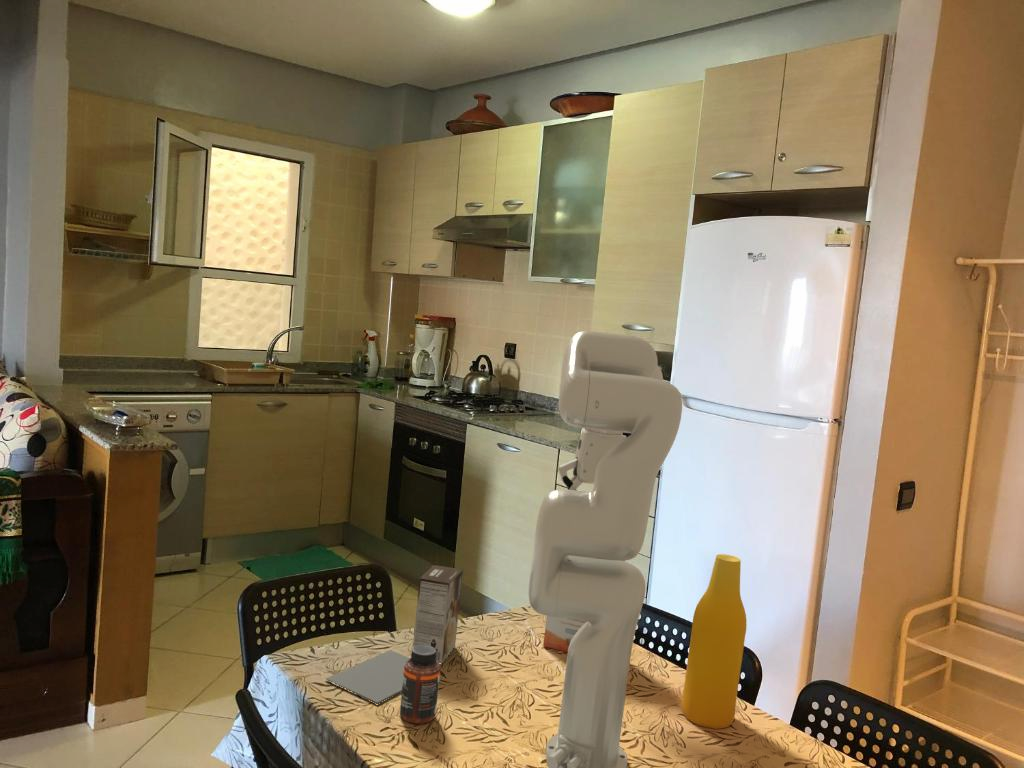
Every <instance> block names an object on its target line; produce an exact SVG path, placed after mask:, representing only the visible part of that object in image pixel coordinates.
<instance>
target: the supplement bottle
mask: <svg viewBox="0 0 1024 768" xmlns="http://www.w3.org/2000/svg"><path fill="white" fill-rule="evenodd" d="M409 658H410V659H409V660H407V661H406V663H405V666H404V674H403V685H402V693H401V696H400V705H399V706H400V707H399V715H400V717H401V718H402V719H403V720H404V721H406V722H408V723H411V724H418V725H420V724H421V725H422V724H425V723H426V724H427V723H430V722H431V721H433V720H434V719H435V717H436V715H437V709H438V708H437V707H438V699H439V697H438V696H439V687H440V676H441V664H439V663H438V661H436V659H435V658H436V649H435V648H433V647H432V646H428V645H418V646H415V647H413V646H412V649H411V655H410V657H409Z"/></svg>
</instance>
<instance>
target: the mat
mask: <svg viewBox="0 0 1024 768" xmlns="http://www.w3.org/2000/svg"><path fill="white" fill-rule="evenodd" d="M410 658H411V657H409V656H406V655H404V654H401V653H400V652H399V653H398V652H396V651H394V650H392V649H389V650H386V651H384V652H382V653H379V654H378V655H376V656H373V657H370V658H368V659H366V660H365V661H361V662H359V663H357V664H355V665H354V666H351V667H349V668H346V669H344V670H342V671H339V672H338V673H335V674H332V675H330V676H328V677H326V678H325V680H326V679H327V680H329V681H331V682H334V683H335V684H338V685H339V686H341V687H343V688H346V689H348V690H349V691H352V692H353V693H356V694H358V695H360V696H361V697H363V698H365V699H367V700H370V701H372V702H374V703H376V704H379V703H381V702H382V701H384V700H386V699H388V698H390V697H392V696H394V695H396V694H398V693H400V692H402V685H403V674H404V666H405V663H406V661H407V660H409V659H410ZM400 694H401V693H400ZM398 695H399V694H398ZM396 696H397V695H396ZM394 697H395V696H394ZM363 698H362V699H363ZM392 698H393V697H392ZM365 699H364V700H365ZM390 699H391V698H390ZM367 700H366V701H367ZM388 700H389V699H388ZM386 701H387V700H386ZM381 704H382V703H381ZM379 705H380V704H379Z"/></svg>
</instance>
